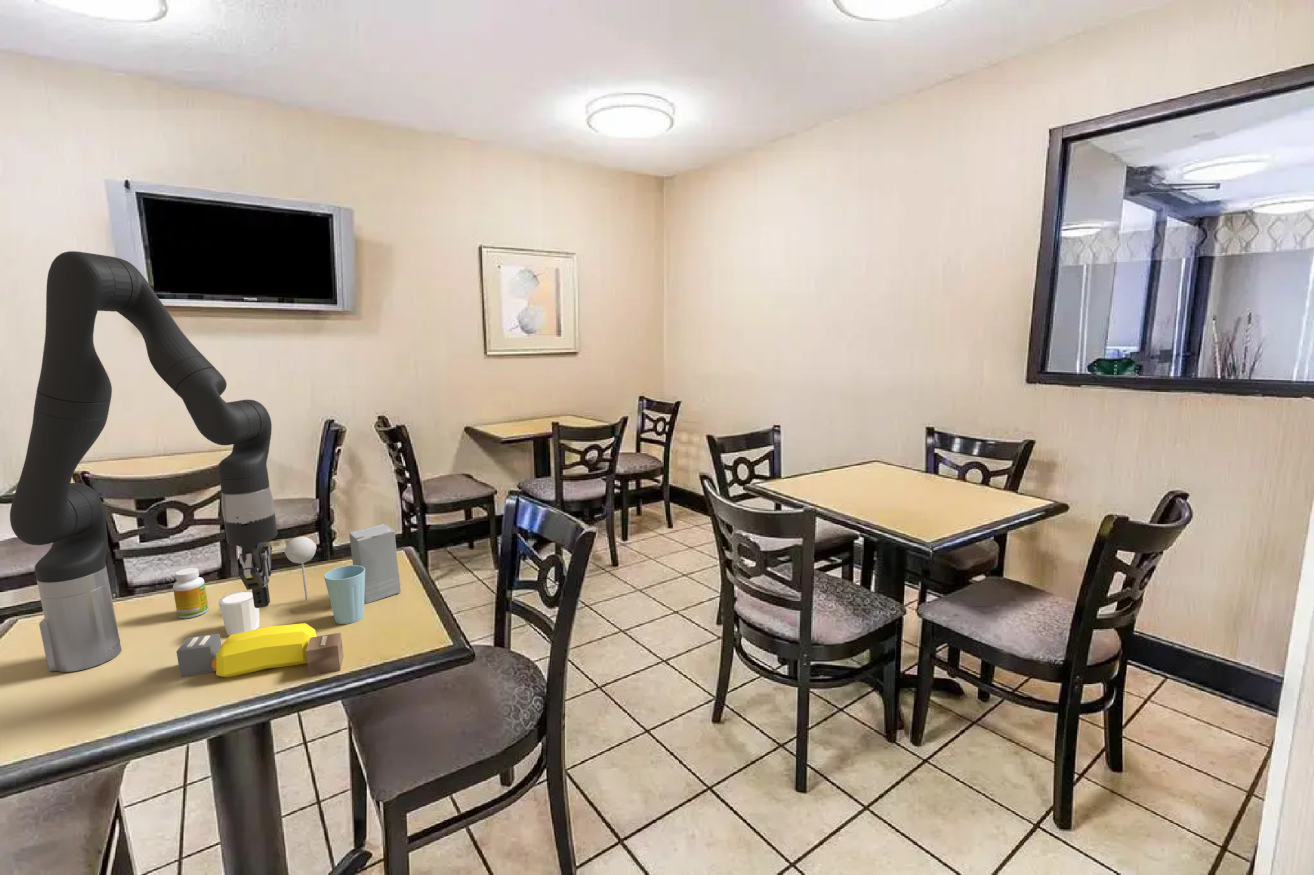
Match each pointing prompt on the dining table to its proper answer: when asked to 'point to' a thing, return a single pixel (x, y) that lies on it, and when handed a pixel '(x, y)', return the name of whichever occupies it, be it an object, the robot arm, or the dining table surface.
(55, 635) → the robot arm
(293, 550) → the lollipop
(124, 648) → the dining table surface
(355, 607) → the cup
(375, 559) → the skincare box
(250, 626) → the shot glass
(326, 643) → the walnut numbered block
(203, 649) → the charcoal numbered block
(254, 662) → the yellow banana
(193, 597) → the supplement bottle
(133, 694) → the dining table surface
